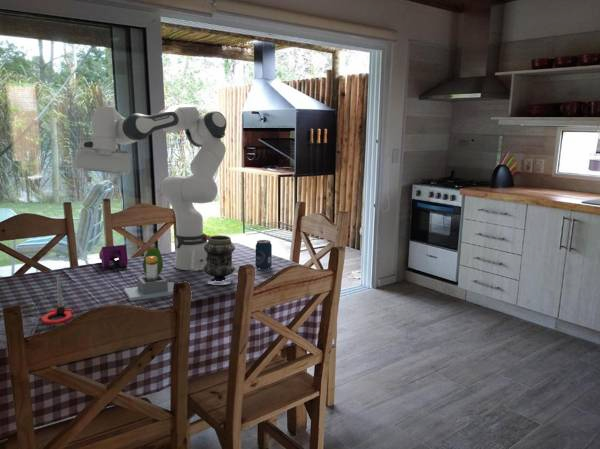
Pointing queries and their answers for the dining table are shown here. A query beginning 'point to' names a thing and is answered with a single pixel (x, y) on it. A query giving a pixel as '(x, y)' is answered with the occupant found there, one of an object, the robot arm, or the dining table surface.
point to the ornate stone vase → (219, 257)
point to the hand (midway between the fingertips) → (102, 183)
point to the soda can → (263, 254)
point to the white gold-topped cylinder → (151, 268)
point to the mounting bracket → (113, 255)
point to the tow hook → (58, 308)
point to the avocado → (156, 252)
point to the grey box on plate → (150, 288)
